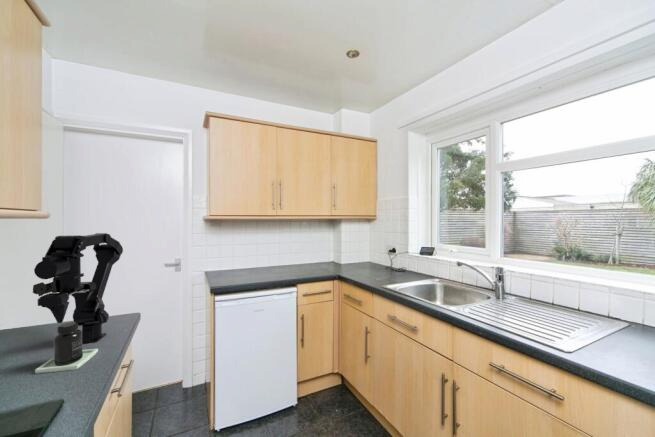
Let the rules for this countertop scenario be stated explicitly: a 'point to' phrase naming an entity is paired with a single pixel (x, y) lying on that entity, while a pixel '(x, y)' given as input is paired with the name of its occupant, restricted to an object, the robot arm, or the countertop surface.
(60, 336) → the supplement bottle
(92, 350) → the sage tray
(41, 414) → the countertop surface
